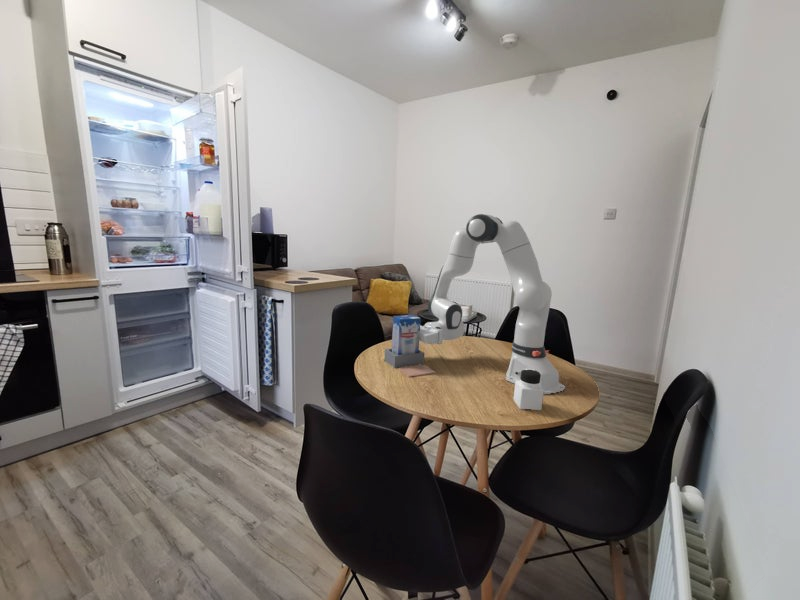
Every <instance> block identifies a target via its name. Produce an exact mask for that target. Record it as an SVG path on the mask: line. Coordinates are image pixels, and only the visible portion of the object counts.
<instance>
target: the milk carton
mask: <svg viewBox="0 0 800 600" xmlns="http://www.w3.org/2000/svg"><path fill="white" fill-rule="evenodd" d="M421 319H422V318H421V317H419V316H418V315H414V314H411V315H410V314H407V315H393V317H392V333H391V334H392V335H391V348H392V353H393V354H395V355H404V354H413V353H418V352H419V350H420V341H419V340H418V339H417V338H414V333H417V332H418V331H420V325H421V321H422V320H421Z"/></svg>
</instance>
